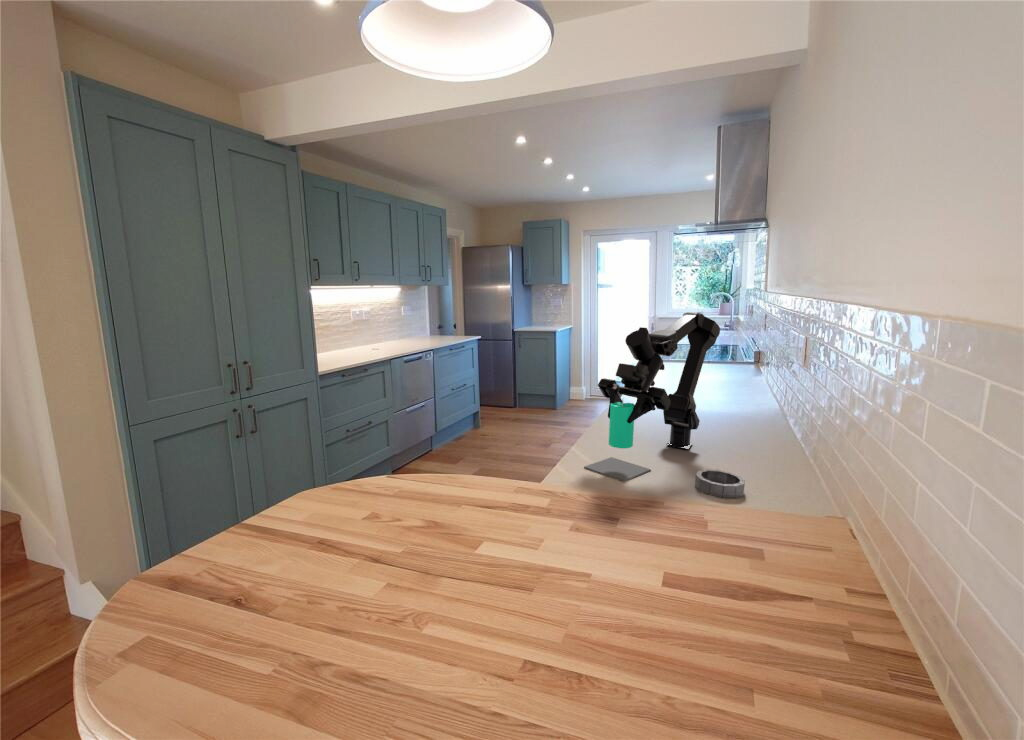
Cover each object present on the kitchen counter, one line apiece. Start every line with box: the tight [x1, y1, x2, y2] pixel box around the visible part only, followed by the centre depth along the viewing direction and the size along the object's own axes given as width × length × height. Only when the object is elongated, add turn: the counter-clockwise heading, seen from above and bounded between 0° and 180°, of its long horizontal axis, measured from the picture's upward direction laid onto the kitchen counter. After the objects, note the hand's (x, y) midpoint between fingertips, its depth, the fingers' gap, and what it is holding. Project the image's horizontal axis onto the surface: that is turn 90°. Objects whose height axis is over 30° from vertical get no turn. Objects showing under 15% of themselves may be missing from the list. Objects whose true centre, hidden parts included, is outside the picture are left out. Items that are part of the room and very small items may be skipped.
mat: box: [583, 456, 652, 483], centre depth 123 cm, size 12×12×1 cm
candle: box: [608, 401, 635, 449], centre depth 121 cm, size 6×6×12 cm
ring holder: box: [694, 468, 746, 500], centre depth 112 cm, size 10×10×3 cm
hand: (618, 420), depth 120 cm, fingers closed on candle, 5 cm apart
